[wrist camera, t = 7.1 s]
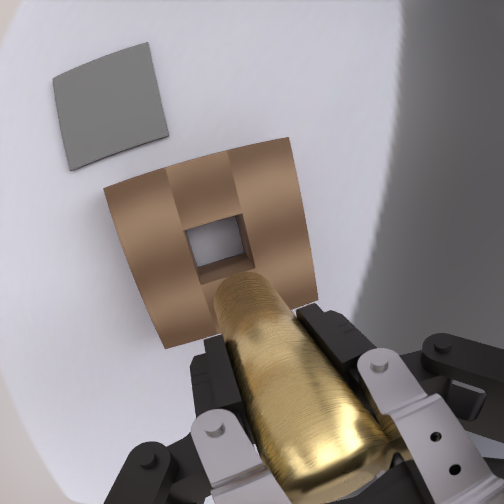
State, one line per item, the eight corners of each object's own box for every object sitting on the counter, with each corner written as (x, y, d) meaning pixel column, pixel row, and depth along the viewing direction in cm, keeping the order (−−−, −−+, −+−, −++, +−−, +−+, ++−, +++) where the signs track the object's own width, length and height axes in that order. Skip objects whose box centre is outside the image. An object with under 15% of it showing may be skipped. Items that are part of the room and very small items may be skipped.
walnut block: (114, 184, 22) (103, 188, 19) (272, 140, 25) (288, 136, 21) (165, 325, 27) (165, 349, 24) (301, 282, 29) (318, 299, 26)
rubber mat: (54, 79, 18) (52, 78, 18) (148, 44, 19) (147, 41, 19) (72, 170, 21) (70, 170, 21) (169, 135, 22) (168, 135, 22)
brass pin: (205, 282, 14) (264, 481, 4) (267, 263, 14) (403, 419, 5) (223, 334, 15) (286, 518, 5) (279, 316, 15) (387, 474, 6)
